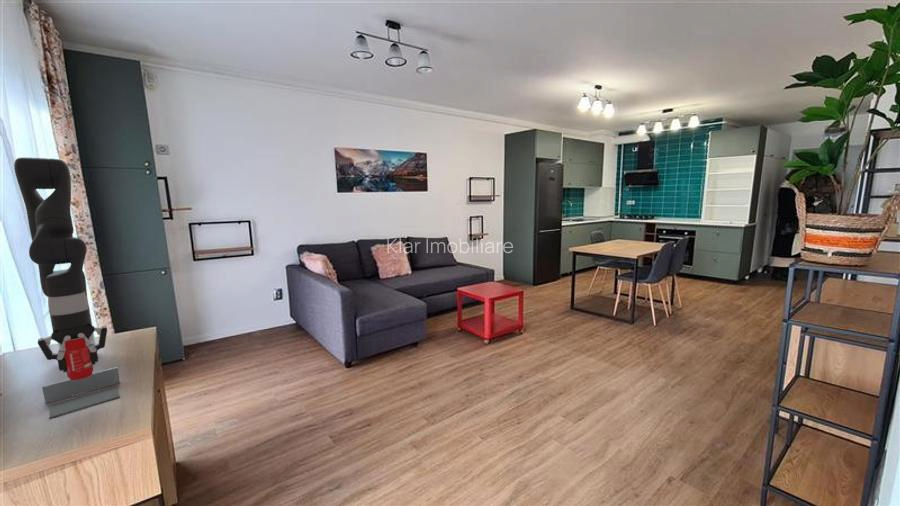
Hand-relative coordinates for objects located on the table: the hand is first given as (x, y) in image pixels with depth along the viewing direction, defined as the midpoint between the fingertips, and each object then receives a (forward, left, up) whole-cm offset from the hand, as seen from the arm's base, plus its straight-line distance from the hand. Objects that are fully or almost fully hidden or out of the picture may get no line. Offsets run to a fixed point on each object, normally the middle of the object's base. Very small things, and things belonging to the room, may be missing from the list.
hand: (79, 367), depth 103 cm
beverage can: (0, 0, -3) cm, 3 cm away
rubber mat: (0, 0, -11) cm, 11 cm away
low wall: (-8, 0, -11) cm, 13 cm away
